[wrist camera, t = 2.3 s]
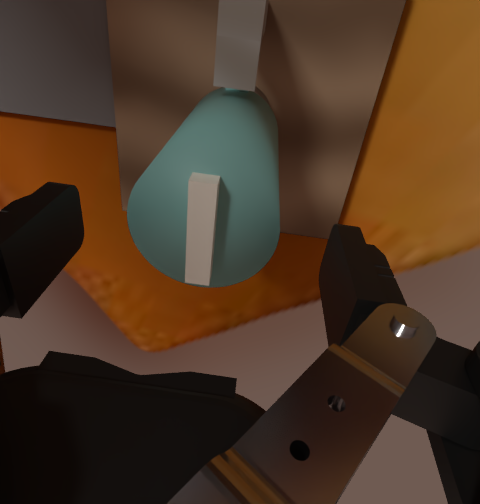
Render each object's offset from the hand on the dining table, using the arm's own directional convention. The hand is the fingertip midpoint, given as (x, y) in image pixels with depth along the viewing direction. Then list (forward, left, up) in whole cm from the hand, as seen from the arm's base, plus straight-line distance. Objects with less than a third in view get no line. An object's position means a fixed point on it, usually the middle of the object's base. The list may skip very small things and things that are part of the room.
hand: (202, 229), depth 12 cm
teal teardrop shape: (0, 0, -10) cm, 10 cm away
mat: (-3, -13, -15) cm, 20 cm away
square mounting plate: (0, 0, -15) cm, 15 cm away
